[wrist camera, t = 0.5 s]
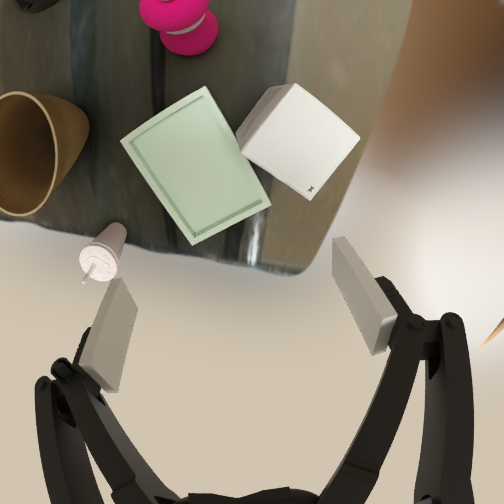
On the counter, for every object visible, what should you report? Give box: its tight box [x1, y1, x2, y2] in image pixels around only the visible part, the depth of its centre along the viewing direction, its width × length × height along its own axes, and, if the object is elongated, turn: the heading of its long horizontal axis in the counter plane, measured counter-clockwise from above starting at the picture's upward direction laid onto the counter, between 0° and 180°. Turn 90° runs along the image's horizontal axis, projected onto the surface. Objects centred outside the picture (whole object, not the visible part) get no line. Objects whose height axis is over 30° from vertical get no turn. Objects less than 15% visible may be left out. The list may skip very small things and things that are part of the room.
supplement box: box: [235, 83, 360, 200], centre depth 30 cm, size 9×9×15 cm
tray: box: [120, 86, 271, 246], centre depth 38 cm, size 20×14×2 cm
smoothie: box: [79, 222, 127, 284], centre depth 37 cm, size 6×6×14 cm
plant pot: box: [0, 91, 89, 216], centre depth 26 cm, size 15×15×16 cm
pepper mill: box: [139, 0, 218, 56], centre depth 20 cm, size 7×7×20 cm
